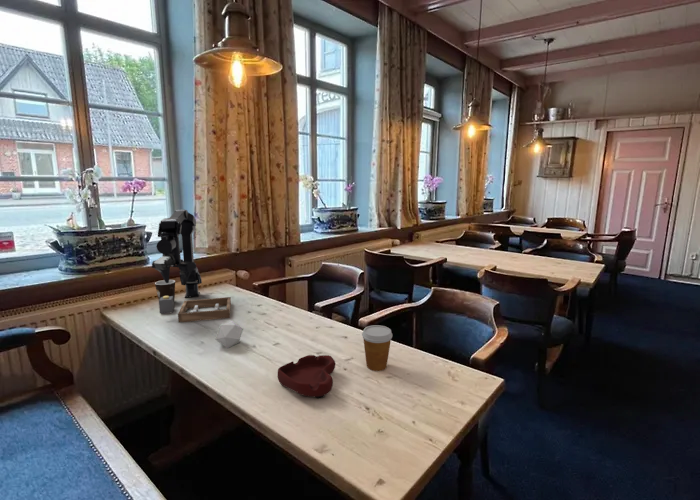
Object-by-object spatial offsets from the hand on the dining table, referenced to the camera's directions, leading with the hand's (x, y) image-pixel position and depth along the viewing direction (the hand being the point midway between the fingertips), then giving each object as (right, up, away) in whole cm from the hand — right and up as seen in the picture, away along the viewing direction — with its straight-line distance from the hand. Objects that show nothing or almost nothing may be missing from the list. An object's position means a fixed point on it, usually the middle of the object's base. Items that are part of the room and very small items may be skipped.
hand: (175, 284), depth 163 cm
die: (+32, -19, -28) cm, 47 cm away
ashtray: (+62, -24, -53) cm, 85 cm away
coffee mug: (-11, -11, +15) cm, 22 cm away
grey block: (-6, -12, +5) cm, 15 cm away
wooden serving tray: (+12, -13, +3) cm, 18 cm away
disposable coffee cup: (+83, -22, -44) cm, 97 cm away
